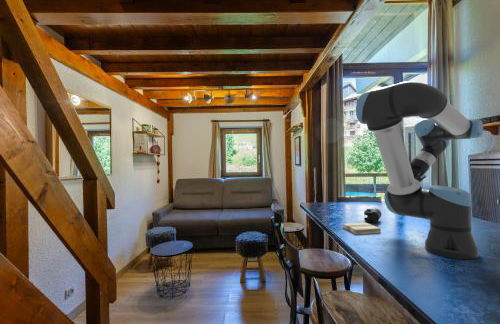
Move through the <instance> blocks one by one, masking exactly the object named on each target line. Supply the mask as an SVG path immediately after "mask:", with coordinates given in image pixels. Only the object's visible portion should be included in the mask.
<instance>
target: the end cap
mask: <svg viewBox="0 0 500 324" xmlns="http://www.w3.org/2000/svg"><path fill="white" fill-rule="evenodd" d="M363 215H364V216H367V217H363V220H364V221H363V222H366V223H368V224H371V225H375V224H377V223H378V222H379V220H380V219H381V217H382V211H381V210H380V209H378V208H372V209H371V208H366V209H365V210H364V212H363Z"/></svg>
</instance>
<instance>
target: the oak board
mask: <svg viewBox="0 0 500 324" xmlns="http://www.w3.org/2000/svg"><path fill="white" fill-rule="evenodd" d="M342 228H343V229H345V230H347V231H348V232H350V233H353V234H354V235H367V234H380V233H382V231H381V230H382V229H381V227H377V226H375V225H374V224H369V223H366V222H365V221H362V222H350V223H349V222H348V223H345V222H344V223H342Z"/></svg>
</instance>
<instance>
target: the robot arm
mask: <svg viewBox="0 0 500 324" xmlns="http://www.w3.org/2000/svg"><path fill="white" fill-rule="evenodd" d="M355 115H356V119H357V121H358V122H359V123H360V124H363V125H366V126H367V129H368V131H370V132H371V133H373V134H374V138H375V141H376V144H377V146H378V150H379V152H380V156H381V160H382V163H383V166H384V168H385V172H386V175H387V178H388V181H389V184H388V186H387V188H386V190H385V192H384V197H383V199H384V204H385V206H386V208H387V209H388V211H390V212H391V214H394V215H399V216H403V217H411V218H418V219H422V220H423V219H424V220H429V231H428V233H427V237H426V239H425V241H424V249H425V250H426V251H428V252H430V253H432V254H434V255H438V256H441V257H444V258H451V259H456V260H475V259H478V258H479V257H480V253H479V252H480V251H479V250H480V249H479V248H478V246H477V245H476V242H475V239H474V236H473V233H472V205H473V204H472V203H471V202H472V201H471V193H469V191H467V190H465V189H462V188H458V187H454V186H446V185H430V186H429V187H428V188H422V183H421V182H423V180H424V179H426V178H427V175H426V173H427V172H428V171H429V170H430V168H431V167H432V165H434V163H435V162H436V161H437V159H438V158H439V157H441V155H442V154H443V153H444V152H445V151H446V149H447V148H448V146H449V145H450V141H453V140H471V139H479V138H481V137H482V136H483V133H484V124H483V121H482V120H481V119H480V118H469V119H468V118H467V117H466V116H464V115H463V113H461V112H460V111H459V110H457V108H456V107H454V106H453V105H452V104H451V103H449V100H448V97H447V95H446V94H445V93H444V92H443V91H442V90H441V89H439V88H437V87H435V86H433V85H430V84H427V83H423V82H418V81H402V82H399V83H395V84H391V85H388V86H383V87H380V88H375V89H372V90H369V91H365V92H363V93H362V94H361V95H360V96H359V97H358V98H357V102H356V105H355ZM410 117H419V118H421V119H422V120H420V121H418V122H417V123H416V124H414V127H413V128H414V129H413V130H414V132H415V135H416V137H417V138H418V140H419V141H420V144H421V145H422V148H420V150H419V151H418V152H417V154H416V155H415V156H414V157H413V158H412V160H410V159H409V155H408V152H407V148H406V145H405V141H404V137H403V134H402V130H401V127H400V125H401V123H402V122H403V121H404V120H403V119H404V118H410Z"/></svg>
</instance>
